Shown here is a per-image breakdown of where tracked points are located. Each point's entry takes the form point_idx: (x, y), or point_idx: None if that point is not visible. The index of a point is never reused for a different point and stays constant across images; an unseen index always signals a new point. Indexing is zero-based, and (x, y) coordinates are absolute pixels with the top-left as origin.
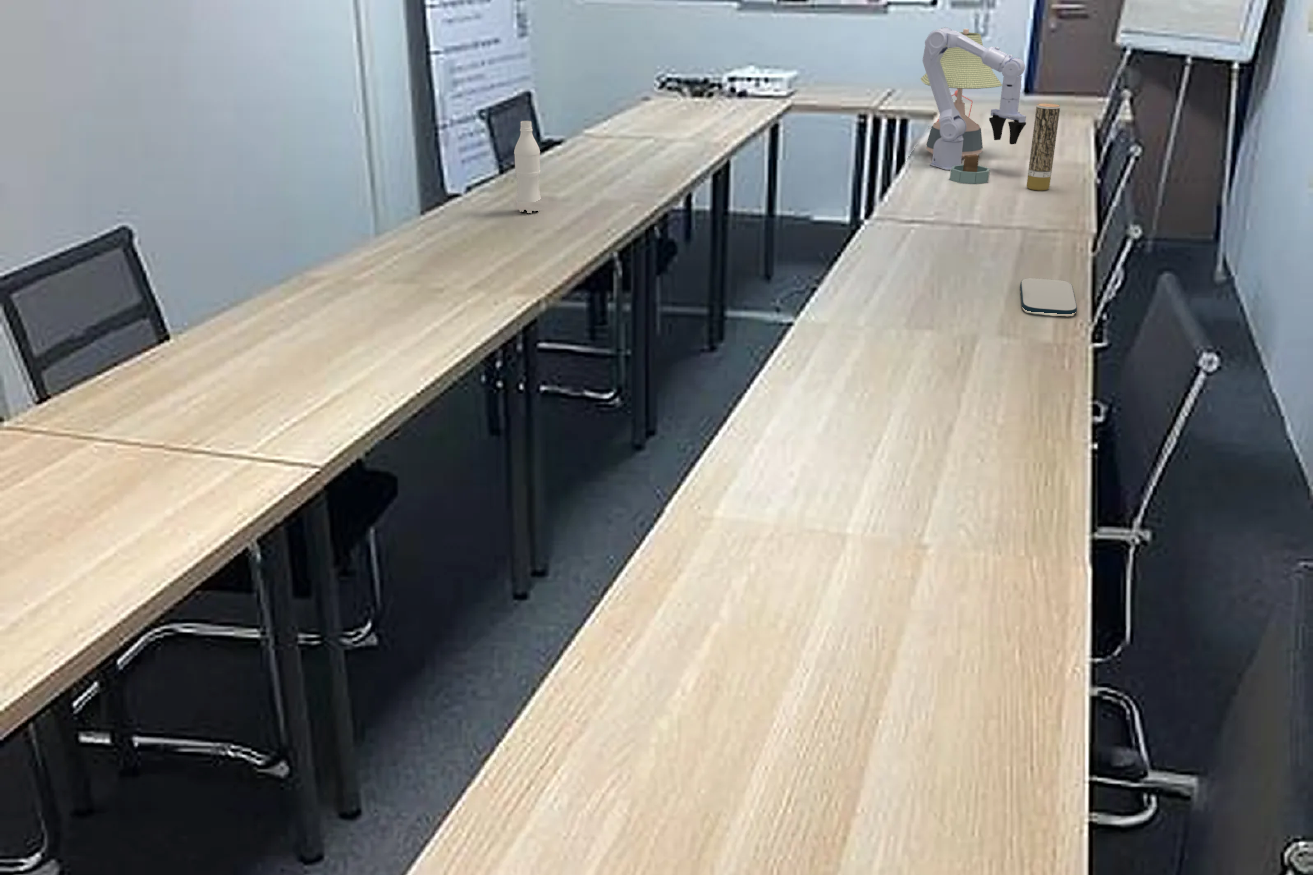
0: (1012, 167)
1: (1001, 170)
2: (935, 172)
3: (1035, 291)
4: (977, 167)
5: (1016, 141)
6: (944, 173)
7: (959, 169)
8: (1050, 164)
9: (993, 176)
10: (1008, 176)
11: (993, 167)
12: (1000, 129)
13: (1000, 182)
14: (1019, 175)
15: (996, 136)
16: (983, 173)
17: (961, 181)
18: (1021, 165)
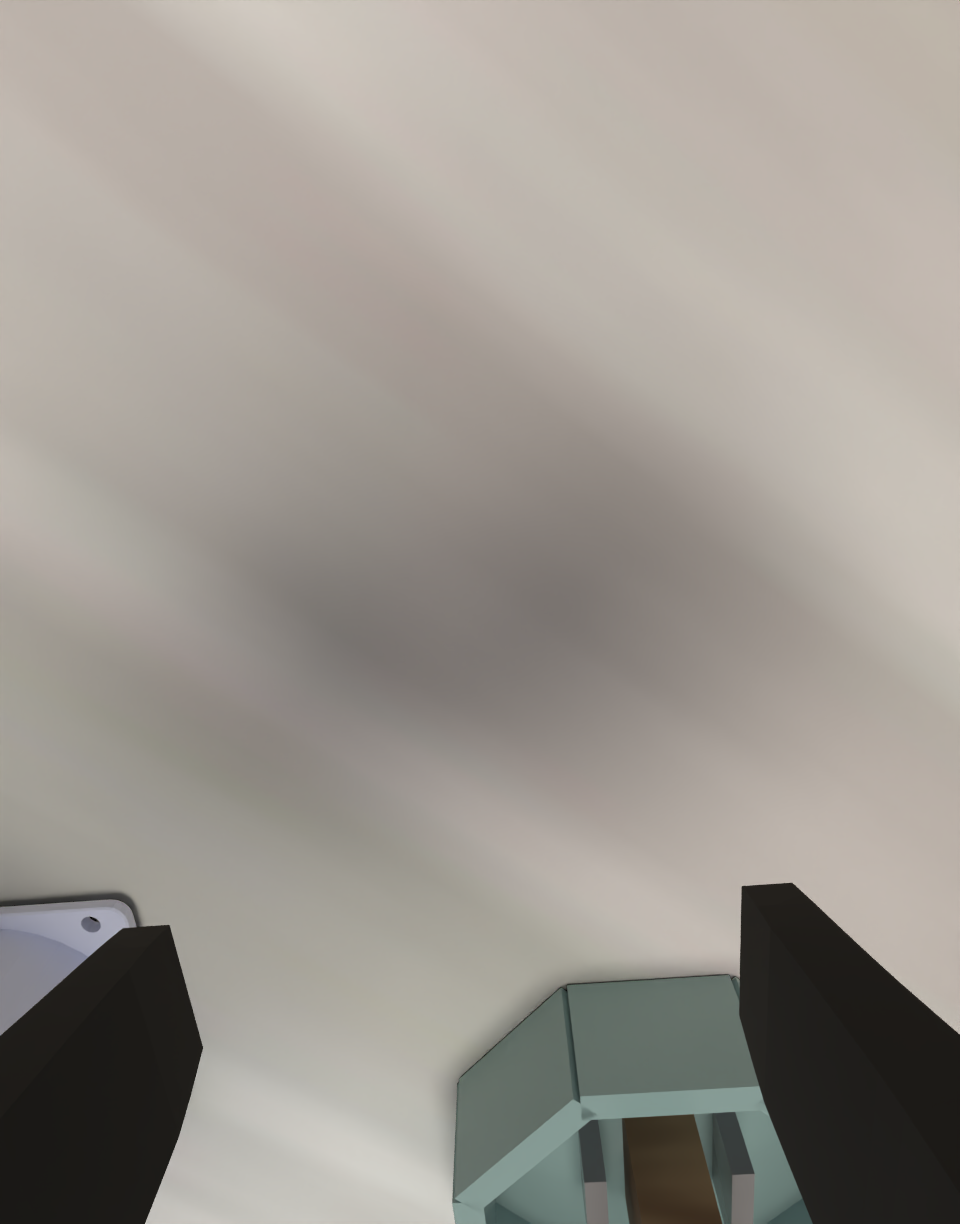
0: (175, 282)
1: (331, 568)
2: (243, 1215)
3: None
4: (719, 1216)
5: (830, 930)
6: (308, 1174)
7: (490, 1218)
8: None
9: (612, 850)
10: (686, 695)
11: (121, 556)
12: (5, 1214)
13: (904, 944)
14: (695, 528)
15: (161, 1112)
16: None
17: None
18: (49, 11)
